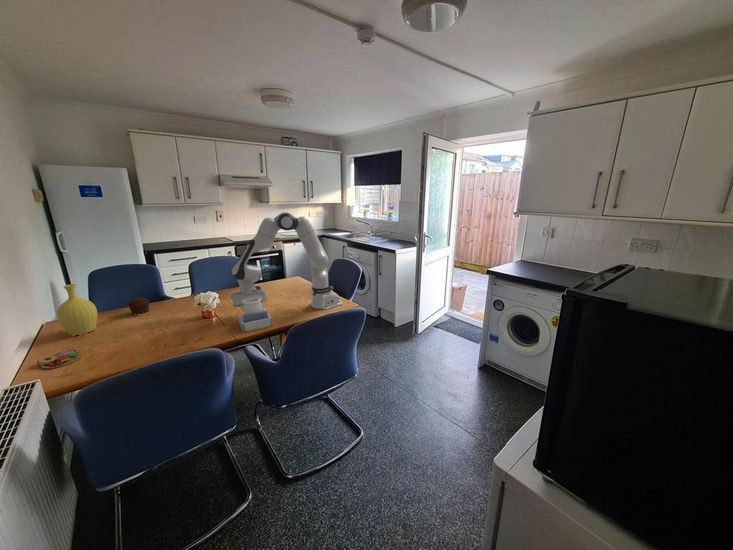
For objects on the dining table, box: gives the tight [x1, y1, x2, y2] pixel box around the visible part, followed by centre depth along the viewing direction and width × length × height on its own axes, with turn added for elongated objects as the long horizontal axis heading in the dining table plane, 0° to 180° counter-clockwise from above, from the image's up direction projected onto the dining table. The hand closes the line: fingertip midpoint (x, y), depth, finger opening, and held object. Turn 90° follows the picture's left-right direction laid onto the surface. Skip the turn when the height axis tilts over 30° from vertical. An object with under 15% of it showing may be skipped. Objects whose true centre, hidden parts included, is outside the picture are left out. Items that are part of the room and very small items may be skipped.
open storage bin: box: [237, 307, 273, 333], centre depth 178 cm, size 16×19×5 cm
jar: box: [243, 297, 263, 315], centre depth 177 cm, size 11×10×15 cm
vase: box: [56, 283, 98, 336], centre depth 163 cm, size 16×16×28 cm
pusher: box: [242, 309, 268, 323], centre depth 173 cm, size 13×2×8 cm, turn 121°
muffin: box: [127, 297, 151, 315], centre depth 192 cm, size 12×11×10 cm
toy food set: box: [36, 349, 80, 370], centre depth 138 cm, size 13×13×3 cm
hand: (252, 310), depth 182 cm, fingers open, 7 cm apart
